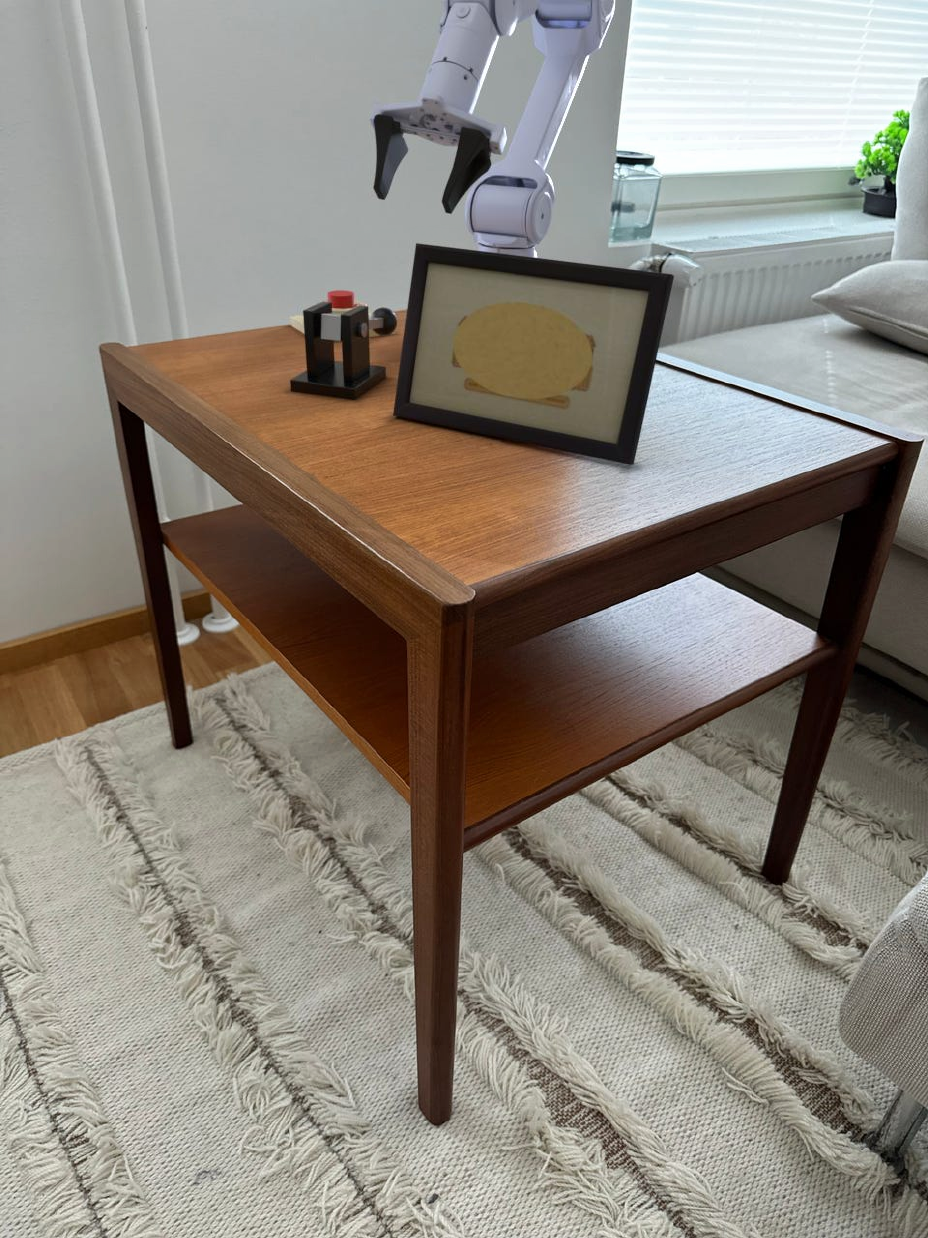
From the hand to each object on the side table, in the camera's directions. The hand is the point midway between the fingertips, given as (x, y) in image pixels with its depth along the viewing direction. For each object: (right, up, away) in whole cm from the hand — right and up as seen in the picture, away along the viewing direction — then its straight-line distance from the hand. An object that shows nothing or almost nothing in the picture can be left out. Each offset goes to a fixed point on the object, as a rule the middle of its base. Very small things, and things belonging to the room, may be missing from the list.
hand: (412, 200), depth 92 cm
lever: (-5, -14, +2) cm, 15 cm away
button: (-10, -5, +16) cm, 19 cm away
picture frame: (+11, -26, -10) cm, 30 cm away
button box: (-10, -8, +18) cm, 21 cm away
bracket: (-7, -19, -1) cm, 21 cm away
